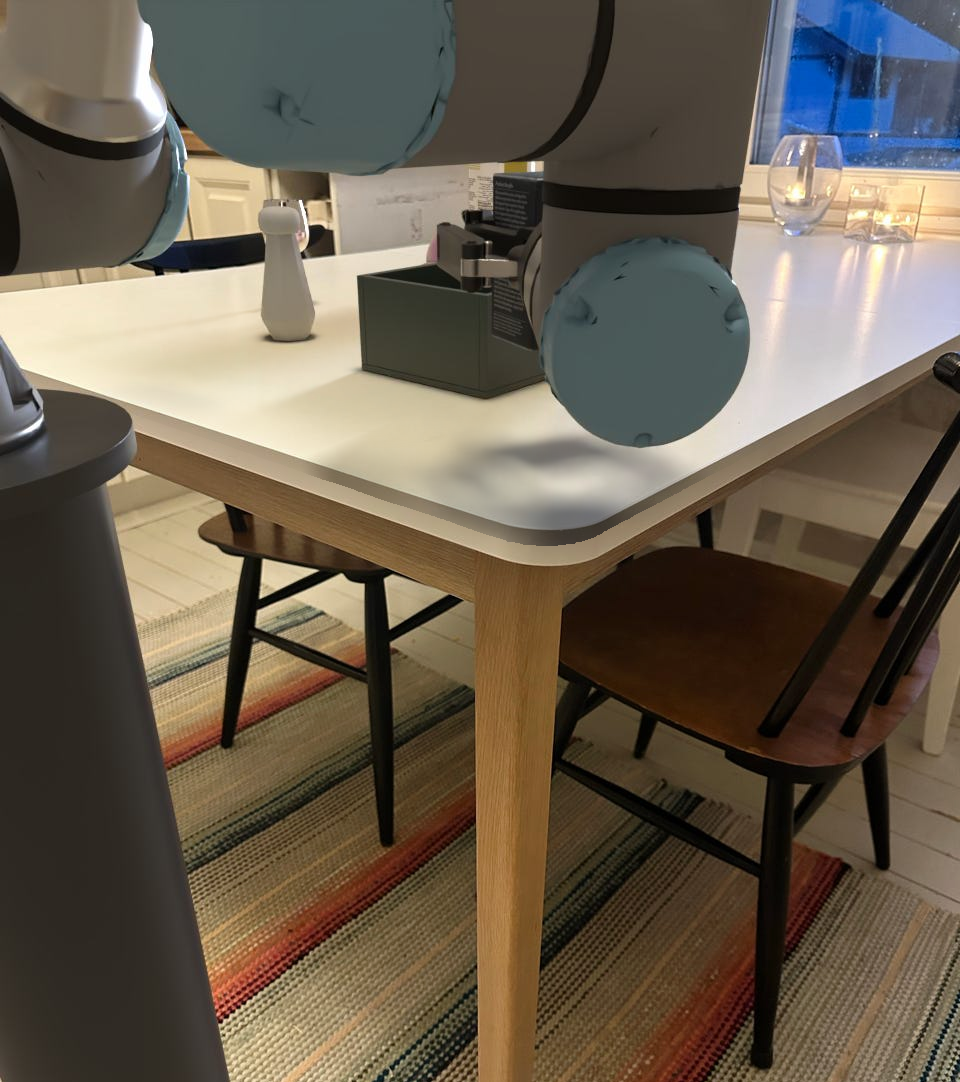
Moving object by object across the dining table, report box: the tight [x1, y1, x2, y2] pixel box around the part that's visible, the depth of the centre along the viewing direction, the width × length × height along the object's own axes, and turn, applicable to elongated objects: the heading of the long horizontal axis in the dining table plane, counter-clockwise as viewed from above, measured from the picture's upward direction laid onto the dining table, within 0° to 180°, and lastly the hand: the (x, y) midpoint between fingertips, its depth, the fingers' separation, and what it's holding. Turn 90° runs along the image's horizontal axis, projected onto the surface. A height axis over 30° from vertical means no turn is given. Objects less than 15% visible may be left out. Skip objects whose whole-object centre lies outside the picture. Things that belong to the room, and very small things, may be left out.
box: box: [491, 170, 544, 351], centre depth 62 cm, size 8×6×11 cm
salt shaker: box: [257, 206, 316, 342], centre depth 98 cm, size 6×6×13 cm
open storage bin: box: [356, 263, 546, 400], centre depth 88 cm, size 16×16×9 cm
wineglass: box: [261, 198, 310, 253], centre depth 115 cm, size 6×6×12 cm
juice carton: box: [468, 162, 536, 215], centre depth 126 cm, size 8×9×19 cm
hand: (554, 231), depth 65 cm, fingers closed on box, 9 cm apart
